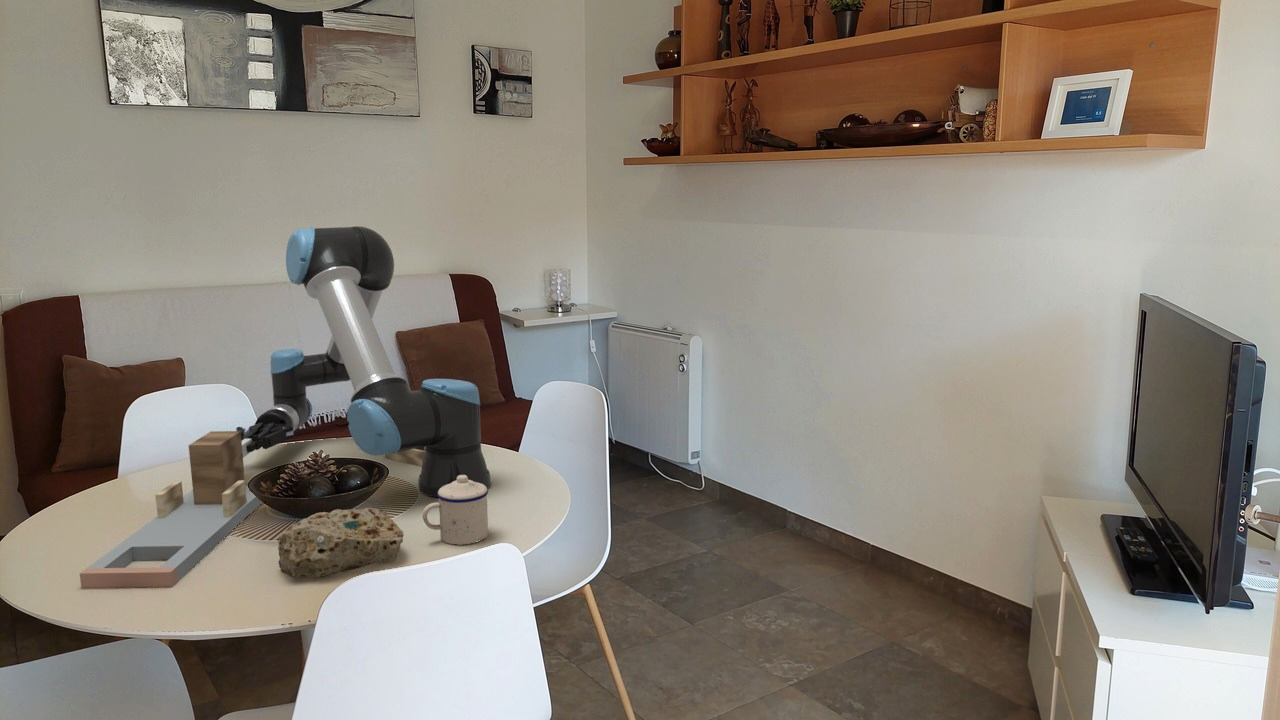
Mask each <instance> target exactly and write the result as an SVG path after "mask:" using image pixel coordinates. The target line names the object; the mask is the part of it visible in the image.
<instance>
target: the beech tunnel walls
mask: <svg viewBox="0 0 1280 720" xmlns="http://www.w3.org/2000/svg"><path fill="white" fill-rule="evenodd" d="M245 486H246V479H245V480H239V481H237V482H236V483H235V484H234V485H232V486H231V487H230V488H229V489H227V490H226V491H225V492H224V493H222V503H223V513H224V517H231V516H232V515H233V514H234V513H235V512H236V511H238V510H239V509H240V508H241V507H242V506H243V505H244V504H245V503H247V499H246V487H245ZM154 495H155V504H156V516H158V518H165V517H166V516H167V515H169V514H170V513H171V512H173V511H174V510H175V509H177V508H178V507H179V506H181V505H182V504H183V503H184V501H183V497H184V493H183V482H182V481H181V480H175V481H173V482H172V483H171V484H169V485H167V486H166V487H165V488H163V489H162V490H160V491H159V492H157V493H156V494H154Z"/></svg>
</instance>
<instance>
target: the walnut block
mask: <svg viewBox="0 0 1280 720" xmlns="http://www.w3.org/2000/svg"><path fill="white" fill-rule="evenodd" d="M188 453H189V454H188V455H189V463H190V473H191V483H192V484H191V485H192V490H193V496H194V505H211V504H223V503H222V493H224V492H225V491H226V490H227V489H229V488H230V487H231V486H232V485H234V484H235V483H236V482H237V481H239V480H245V481H246V479H245V478H246V477H245V467H244V458H243V453H242V441H241V431H236V430H234V431H232V430H230V431H229V430H227V431H226V430H225V431H223V430H222V431H221V430H220V431H219V430H218V431H214V430H213V431H209V432H208V433H206V434H205V435H203V436H201V437H199V438H198V439H196V440H195V441H193V442H192V443H190V444H188Z"/></svg>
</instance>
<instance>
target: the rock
mask: <svg viewBox="0 0 1280 720" xmlns="http://www.w3.org/2000/svg"><path fill="white" fill-rule="evenodd" d="M404 535H405V534H404V531H403V530H402V529H401V528H400V527H399V526H398V524H397V523H396V522H395V521H394V520H393V519H392V518H391V515H389V513H387V511H386V510H384V509H380V508H379V509H377V508H373V507H365V508H359V509H358V508H357V509H356V508H355V509H349V508H348V509H339V508H337V509H334V510H332V511H330V512H326V511H323V512H316V513H314V514H311V515H310V516H308V517H306V518H303V519H301V520H300V521H298V522H295V523H294V524H292V525H290V526H289V527H288V528H287V529H286V530H285V531H283V532H282V534H281V535H280V536H279V538H278V540H277V542H278V548H277V550H278V556H279V559H278V566H279V568H280V570H283V571H284V572H286V573H288V574H289V575H290V576H292V577H295V578H300V576H302V575H306V576H307V577H310V578H311V577H315V578H320V577H325V576H327V575H333V574H335V575H336V574H338V573H344V572H348V571H349V572H350V571H353V570H357V569H361V568H364V567H368V566H370V565H375V564H376V565H382V564H387V563H395V562H396V561H397V556H398V554H399V551H400V547H401V544H402V543H403V542H404V540H403V539H404Z"/></svg>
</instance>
